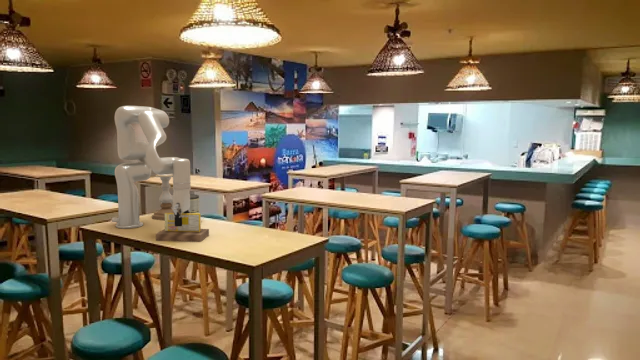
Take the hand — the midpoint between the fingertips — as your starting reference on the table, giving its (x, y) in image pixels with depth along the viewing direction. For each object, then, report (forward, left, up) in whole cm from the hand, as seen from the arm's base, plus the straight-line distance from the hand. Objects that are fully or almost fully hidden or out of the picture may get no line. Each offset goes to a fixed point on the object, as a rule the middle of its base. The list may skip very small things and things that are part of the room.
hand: (182, 223), depth 207 cm
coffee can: (-9, +33, -7) cm, 35 cm away
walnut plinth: (0, 0, -6) cm, 6 cm away
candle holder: (-25, +42, -7) cm, 49 cm away
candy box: (0, 0, -4) cm, 4 cm away
